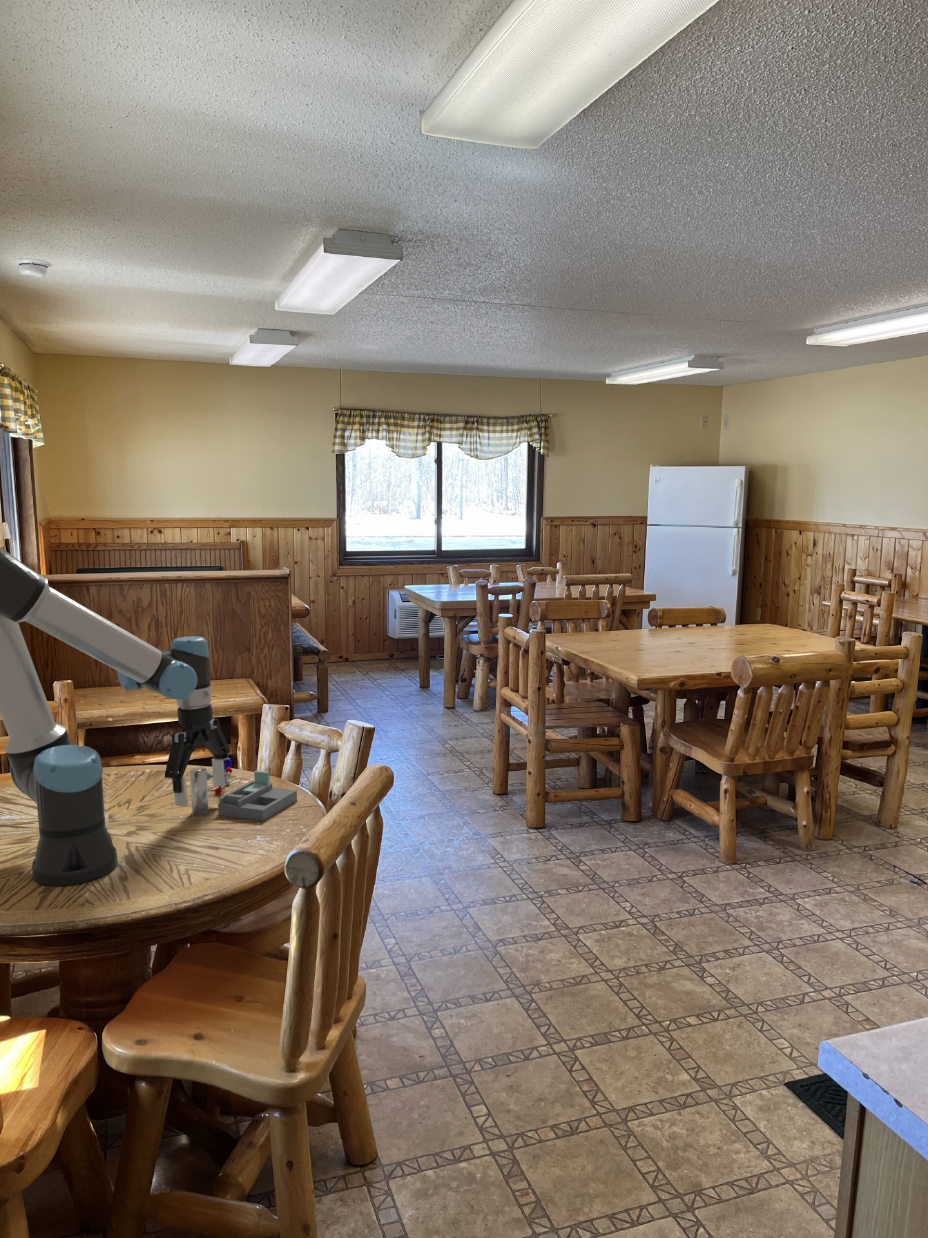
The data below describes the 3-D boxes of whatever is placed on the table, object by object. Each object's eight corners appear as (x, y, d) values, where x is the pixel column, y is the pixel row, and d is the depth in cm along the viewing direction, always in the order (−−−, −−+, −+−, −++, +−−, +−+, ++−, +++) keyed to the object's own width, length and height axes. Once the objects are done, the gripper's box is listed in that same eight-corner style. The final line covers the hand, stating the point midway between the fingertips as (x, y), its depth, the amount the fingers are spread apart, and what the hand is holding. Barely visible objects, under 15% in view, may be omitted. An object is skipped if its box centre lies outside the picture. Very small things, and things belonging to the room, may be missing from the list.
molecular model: (180, 779, 210) (201, 742, 213) (201, 787, 219) (221, 751, 221) (216, 799, 206) (237, 761, 208) (235, 806, 214) (255, 769, 217)
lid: (255, 794, 202) (254, 779, 201) (242, 792, 203) (241, 777, 202) (270, 786, 207) (269, 771, 207) (257, 784, 208) (256, 770, 208)
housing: (263, 821, 192) (262, 803, 191) (218, 814, 196) (217, 797, 196) (297, 800, 205) (296, 784, 204) (254, 795, 209) (253, 778, 209)
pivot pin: (201, 815, 196) (199, 773, 194) (188, 814, 197) (186, 771, 196) (211, 810, 199) (209, 768, 198) (198, 808, 200) (196, 767, 199)
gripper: (171, 720, 182) (178, 816, 185) (241, 693, 205) (246, 779, 208) (142, 718, 184) (150, 812, 187) (215, 691, 207) (220, 776, 210)
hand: (201, 795), depth 198 cm, fingers open, 13 cm apart
